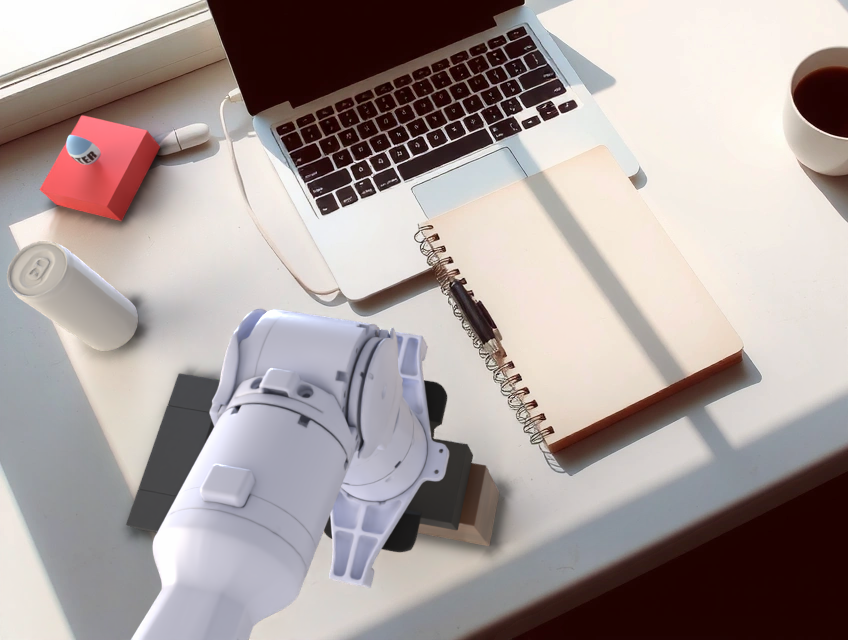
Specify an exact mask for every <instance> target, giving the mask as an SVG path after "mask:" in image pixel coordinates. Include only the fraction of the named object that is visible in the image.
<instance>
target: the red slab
mask: <svg viewBox="0 0 848 640" xmlns="http://www.w3.org/2000/svg"><path fill="white" fill-rule="evenodd" d="M150 133H151V132H149V131H148V130H147V129H143V128H138V127H136V126H135V127H134V126H130V125H126V124H121V123H117V122H112V121H109V120H104V119H100V118H95V117H91V116H87V115H83V114H82V115H81V116H80V117H79V118H78V121H77V123H76V124H75V126H74V128H73V130H72V131H71V133H70V134H69V135H68V136H67V138H66V142H65V144H64V146H63V147H62V149H61V151H60V152H59V154H58V156H57V158H56V160H55V161H54V163H53V165H52V167H51V168H50V170H49V172H48V174H47V175H46V177H45V178H44V181H43V182H42V184H41V186H40V187H39V191H40V192H41V193H43V194H44V196H46V197H47V198H48V199H49V200H50V201H52V203H54V205H57V206H59V207H64V208H68V209H72V210H76V211H79V212H84V213H87V214H91V215H95V216H99V217H104V218H107V219H111V220H115V221H118V222H123V219H124V218H125V215H126V214H127V212H128V210H129V208H130V206H131V204H132V202H133V201H134V198H135V196H136V194H137V192H138V190H139V188H140V187H141V185H142V183H143V181H144V179H145V177H146V176H147V173H148V171H149V169H150V167H151V165H152V164H153V162H154V160H155V158H156V156H157V154H158V152H159V150H160V148H161V146H160V145H159V142H157V141H156V139H155V138H154V137H153V135H152V134H150Z"/></svg>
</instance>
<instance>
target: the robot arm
mask: <svg viewBox="0 0 848 640" xmlns="http://www.w3.org/2000/svg"><path fill="white" fill-rule="evenodd" d="M428 349H429V346H428V344H427V342H426V341H425V338H424V337H423V335H418V334H412V333H405V332H400V331H396V330H395V328H394V327H391V328H390V330H388V329H383V328H380V327H379V325H377V324H375V323H370V322H363V321H355V320H349V319H343V318H338V317H337V318H336V317H330V316H325V315H324V316H323V315H317V314H311V313H310V314H309V313H304V312H297V311H296V312H295V311H291V310H284V309H277V308H275V309H271V310H266V309H264V308H255V309H253V310H251V311H250V312H249V313H247V314H246V316H244V318H243V319H242V320H241V321H240V323H239V325H238V326H237V328H236V329H235V330H234V331H233V332H232V335H231V337H230V339H229V343H228V345H227V348H226V351H225V354H224V358H223V361H222V367H221V372H220V378H219V380H220V383H219V387H218V390H217V392H216V394H215V396H214V398H213V400H212V407H211V409H210V416H211V419H212V422H213V424H214V429H213V430H212V432H211V434H210V436H209V438H208V440H207V441H206V443H205V445H204V447H203V449H202V451H201V453H200V454H199V456H198V458H197V460H196V462H195V464H194V466H193V467H192V469H191V471H190V473H189V475H188V477H187V478H186V480H185V482H184V484H183V486H182V488H181V490H180V491H179V493H178V495H177V497H176V499H175V501H174V503H173V504H172V506H171V508H170V510H169V512H168V514H167V516H166V517H165V519H164V521H163V523H162V525H161V527H160V529H159V530H158V532H157V533H156V534H155V536H154V538H153V542H152V547H151V548H152V555H153V560H154V562H155V566H156V569H157V571H158V575H159V577H160V581H161V590H160V592H159V593H158V595H157V597H156V598H155V599H154V602H153V603H152V604H151V607H149V610H148V611H147V612H146V615H145V616H144V617H143V619H142V621H141V622H140V624H139V625H138V627H137V629H136V631H135V632H134V634H133V636H132V637H131V639H130V640H250V637H251V634H252V631H253V628H254V627H255V626H256V625H257V624H258V623H259V622H261V621H263V620H264V619H266V618H268V617H271V616H273V615H274V614H277V613H278V612H281V611H283V610H284V609H287V607H289V606H290V605H292V604H293V603H294V602H295V601H296V600H297V598H298V597H299V595H300V593H301V590H302V587H303V585H304V581H305V579H306V577H307V574H308V572H309V570H310V567H311V564H312V562H313V559H314V557H315V554H316V551H317V549H318V546H319V543H320V541H321V539H322V536H323V533H324V534H325V535H326V537H328V538H330V539H331V540H332V541H331V542H332V557H331V564H330V570H329V574H328V578H329V579H330V580H332V581H335V582H338V583H341V584H347V585H351V586H356V587H360V588H361V587H362V588H367V589H371V588H372V585H373V580H374V578H375V577H374V576H375V569H374V567H373V565H374V563H375V561H376V560H377V557H378V555H379V554H380V552H381V550H384V551H389V552H394V553H406V552H409V551H411V550H412V549H413V548H414V546H415V544H416V541H417V537H418V534H419V533H418V529H419V525H420V520H421V516H422V512H417V511H412V510H406V508H407V507H408V505H409V503H410V502H411V500H412V498H413V497H414V495H415V494H416V492H417V490H418V489H419V487H420V486H421V484H422V483H423V482H425V481H427V480H430V481H440V480H441V479H443V477H444V475H445V472H446V468H447V463H448V458H449V450H448V449H447V447H446V446H445V445H444V444H442V443H437V442H434V441H433V440H432V438H434V437H435V429H436V428H437V427H440V426H442V425H443V421H444V416H445V412H446V407H447V403H448V393H447V391H446V389H445V387H444V386H443V385H442V384H441V383H439V382H436V381H433V380H426V379H425V378H424V370H423V362H424V361H425V359H426V357H427V352H428ZM442 451H443V452H442ZM441 452H442V453H441ZM437 472H438V474H436V473H437Z"/></svg>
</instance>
